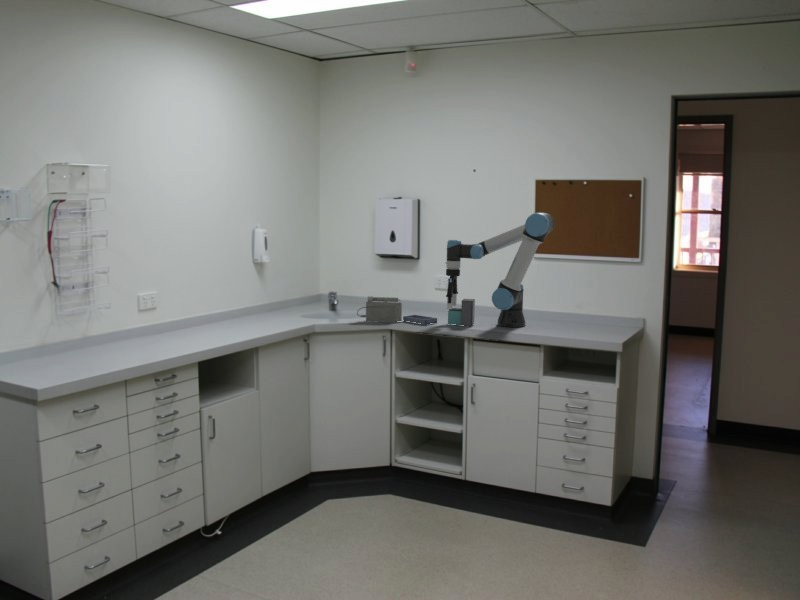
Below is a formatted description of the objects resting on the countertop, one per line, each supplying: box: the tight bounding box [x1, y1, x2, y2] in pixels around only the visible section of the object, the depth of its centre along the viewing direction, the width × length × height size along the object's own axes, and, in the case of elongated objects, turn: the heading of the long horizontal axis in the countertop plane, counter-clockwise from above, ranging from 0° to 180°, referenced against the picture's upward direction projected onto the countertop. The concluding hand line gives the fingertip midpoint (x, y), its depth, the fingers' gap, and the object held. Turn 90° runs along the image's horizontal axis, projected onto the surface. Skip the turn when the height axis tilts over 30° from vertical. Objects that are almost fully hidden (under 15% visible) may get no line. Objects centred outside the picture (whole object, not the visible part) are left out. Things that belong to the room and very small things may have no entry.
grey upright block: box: [460, 298, 476, 327], centre depth 405 cm, size 6×8×14 cm
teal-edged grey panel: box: [447, 307, 462, 325], centre depth 406 cm, size 12×4×9 cm, turn 77°
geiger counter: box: [356, 295, 403, 323], centre depth 415 cm, size 14×6×25 cm
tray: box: [402, 314, 438, 326], centre depth 413 cm, size 17×10×3 cm, turn 46°
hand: (451, 307), depth 407 cm, fingers open, 13 cm apart
